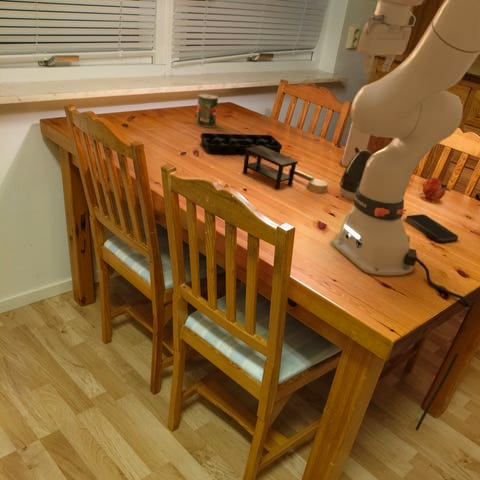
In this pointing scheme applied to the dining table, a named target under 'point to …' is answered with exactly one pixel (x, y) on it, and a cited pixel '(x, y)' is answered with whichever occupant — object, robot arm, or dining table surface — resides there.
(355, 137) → the milk carton
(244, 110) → the dining table surface
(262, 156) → the rack
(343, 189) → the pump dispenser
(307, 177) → the ladle
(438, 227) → the phone
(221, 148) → the egg carton
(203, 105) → the canned tomato
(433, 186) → the pomegranate
